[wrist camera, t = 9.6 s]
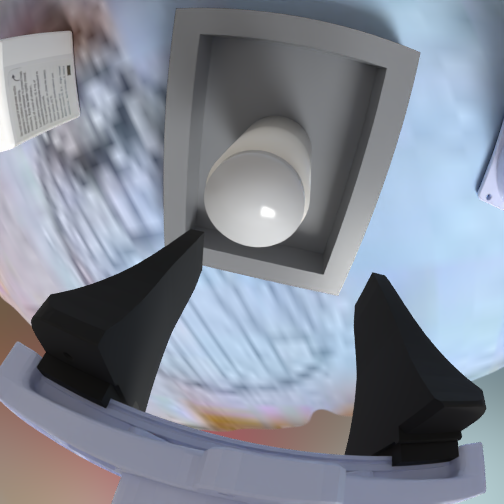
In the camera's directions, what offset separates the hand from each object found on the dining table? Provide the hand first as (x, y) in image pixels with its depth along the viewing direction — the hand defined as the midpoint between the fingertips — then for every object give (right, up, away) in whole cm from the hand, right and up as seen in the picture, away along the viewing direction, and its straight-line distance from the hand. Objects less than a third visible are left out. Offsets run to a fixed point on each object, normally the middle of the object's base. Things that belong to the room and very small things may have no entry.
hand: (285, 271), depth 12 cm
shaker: (0, +7, +6) cm, 9 cm away
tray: (0, +7, +6) cm, 10 cm away
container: (-19, +15, +5) cm, 25 cm away
